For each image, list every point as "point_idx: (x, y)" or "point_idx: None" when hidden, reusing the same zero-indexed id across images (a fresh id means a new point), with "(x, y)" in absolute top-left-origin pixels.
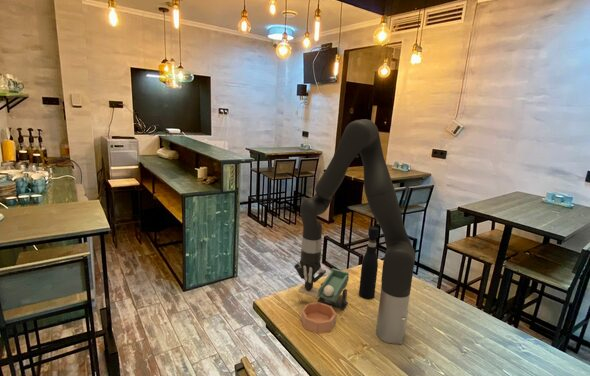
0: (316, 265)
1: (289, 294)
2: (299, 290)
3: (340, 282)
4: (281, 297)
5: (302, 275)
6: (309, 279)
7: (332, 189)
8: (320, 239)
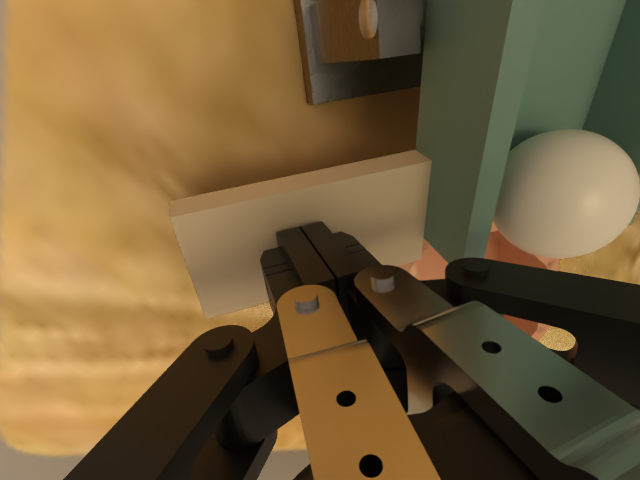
0: None
1: (21, 194)
2: (218, 314)
3: None
4: (18, 283)
5: (262, 467)
6: (394, 388)
7: None
8: None
